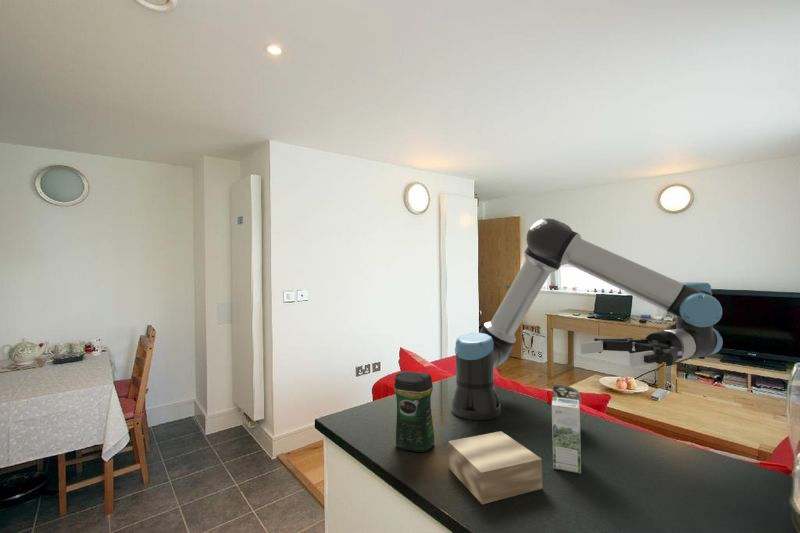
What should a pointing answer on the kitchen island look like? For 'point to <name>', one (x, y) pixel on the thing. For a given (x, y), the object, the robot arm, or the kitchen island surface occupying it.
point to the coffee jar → (414, 411)
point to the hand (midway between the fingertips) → (604, 353)
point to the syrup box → (566, 435)
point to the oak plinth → (494, 466)
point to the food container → (566, 392)
